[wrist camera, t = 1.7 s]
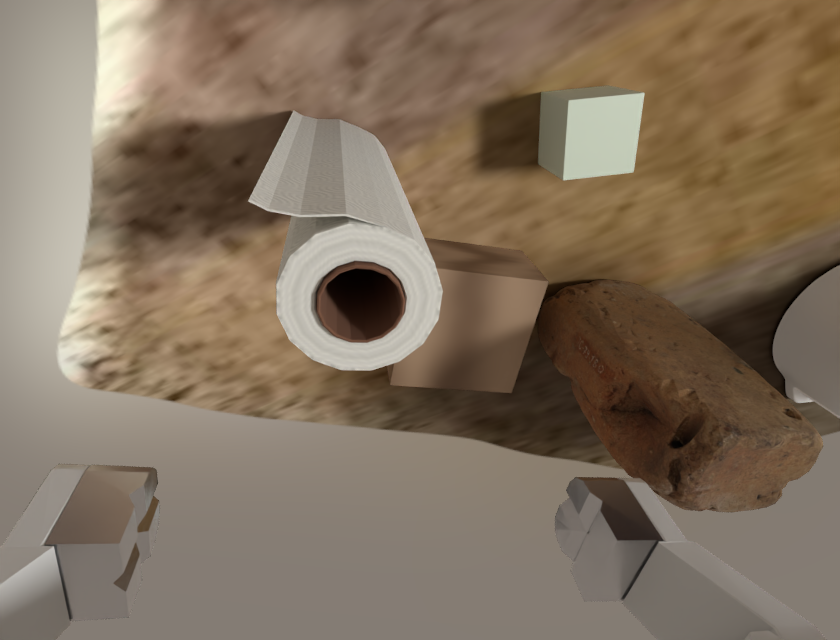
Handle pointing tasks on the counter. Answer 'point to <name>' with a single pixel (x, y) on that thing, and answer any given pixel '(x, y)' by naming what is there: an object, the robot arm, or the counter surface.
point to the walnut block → (476, 320)
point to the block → (674, 399)
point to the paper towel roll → (347, 248)
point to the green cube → (589, 131)
